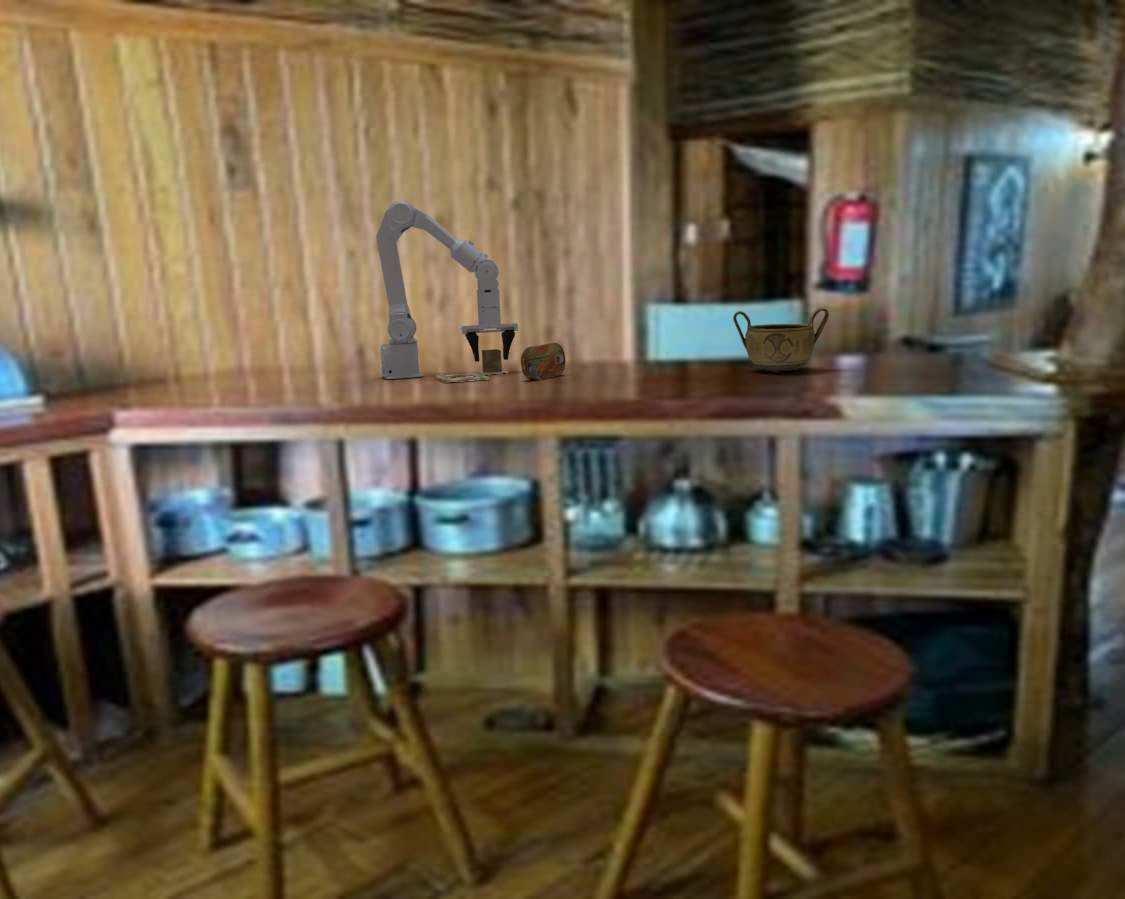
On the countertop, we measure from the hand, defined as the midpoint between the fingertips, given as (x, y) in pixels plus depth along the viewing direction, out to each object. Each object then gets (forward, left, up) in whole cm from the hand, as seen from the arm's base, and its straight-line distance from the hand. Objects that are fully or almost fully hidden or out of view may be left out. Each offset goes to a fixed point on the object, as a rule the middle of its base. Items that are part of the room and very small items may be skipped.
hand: (491, 360), depth 255 cm
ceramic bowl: (+62, -40, -4) cm, 73 cm away
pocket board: (-10, -8, -3) cm, 14 cm away
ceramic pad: (0, 0, -3) cm, 3 cm away
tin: (+9, -18, -4) cm, 20 cm away
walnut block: (0, 0, -3) cm, 3 cm away
